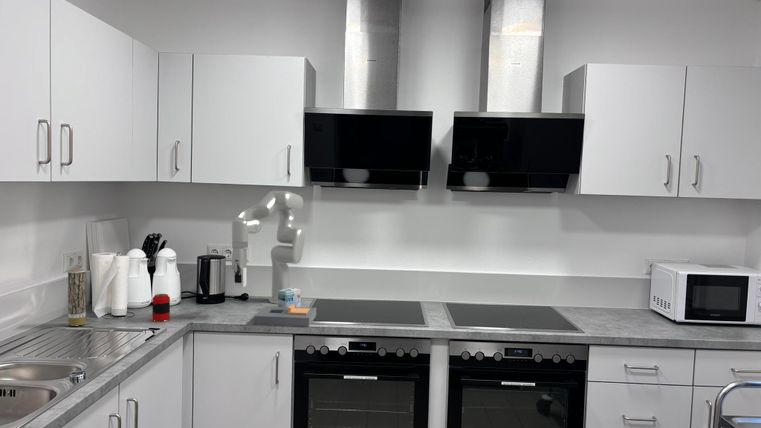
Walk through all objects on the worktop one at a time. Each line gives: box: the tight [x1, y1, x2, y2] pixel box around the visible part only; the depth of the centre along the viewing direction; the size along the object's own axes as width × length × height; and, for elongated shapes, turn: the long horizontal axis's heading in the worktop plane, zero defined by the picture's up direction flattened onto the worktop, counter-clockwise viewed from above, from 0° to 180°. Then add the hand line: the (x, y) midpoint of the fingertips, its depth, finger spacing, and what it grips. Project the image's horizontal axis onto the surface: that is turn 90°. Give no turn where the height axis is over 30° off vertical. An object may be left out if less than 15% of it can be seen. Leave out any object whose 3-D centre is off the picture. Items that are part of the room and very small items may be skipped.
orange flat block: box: [288, 304, 310, 315], centre depth 252 cm, size 9×9×3 cm
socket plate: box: [253, 305, 317, 327], centre depth 252 cm, size 20×26×4 cm
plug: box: [232, 266, 247, 288], centre depth 254 cm, size 5×5×11 cm
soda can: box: [151, 293, 171, 321], centre depth 245 cm, size 8×8×12 cm
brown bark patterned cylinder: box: [67, 268, 87, 326], centre depth 233 cm, size 7×7×25 cm
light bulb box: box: [277, 287, 302, 307], centre depth 272 cm, size 11×7×11 cm, turn 143°
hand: (239, 281), depth 255 cm, fingers closed on plug, 5 cm apart
